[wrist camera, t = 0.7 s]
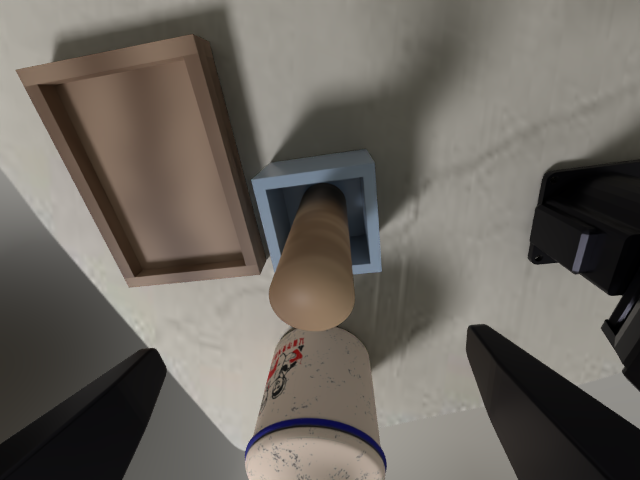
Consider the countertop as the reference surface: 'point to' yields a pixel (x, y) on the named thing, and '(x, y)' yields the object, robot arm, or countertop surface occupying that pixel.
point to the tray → (153, 158)
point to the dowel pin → (316, 264)
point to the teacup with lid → (317, 412)
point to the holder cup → (299, 174)
